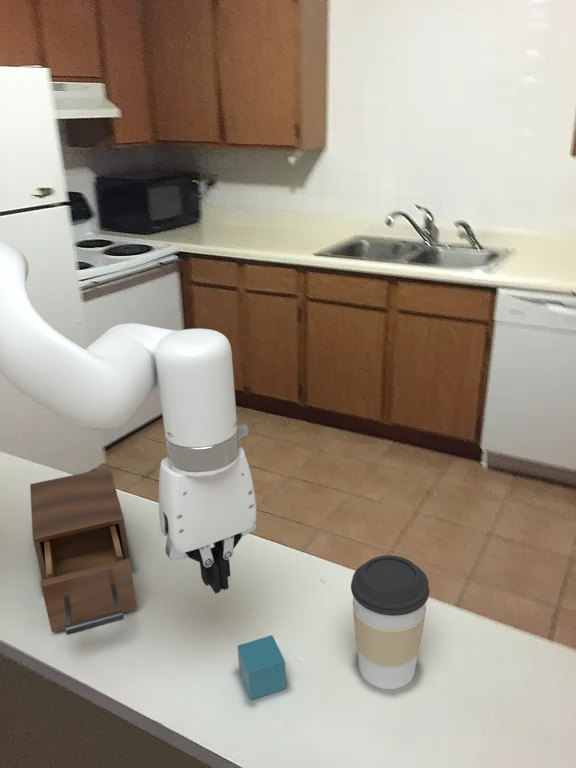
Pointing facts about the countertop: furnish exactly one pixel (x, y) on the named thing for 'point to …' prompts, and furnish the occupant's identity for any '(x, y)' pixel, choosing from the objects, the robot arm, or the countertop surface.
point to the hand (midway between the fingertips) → (216, 584)
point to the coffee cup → (389, 619)
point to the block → (262, 667)
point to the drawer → (87, 580)
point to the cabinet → (75, 509)
